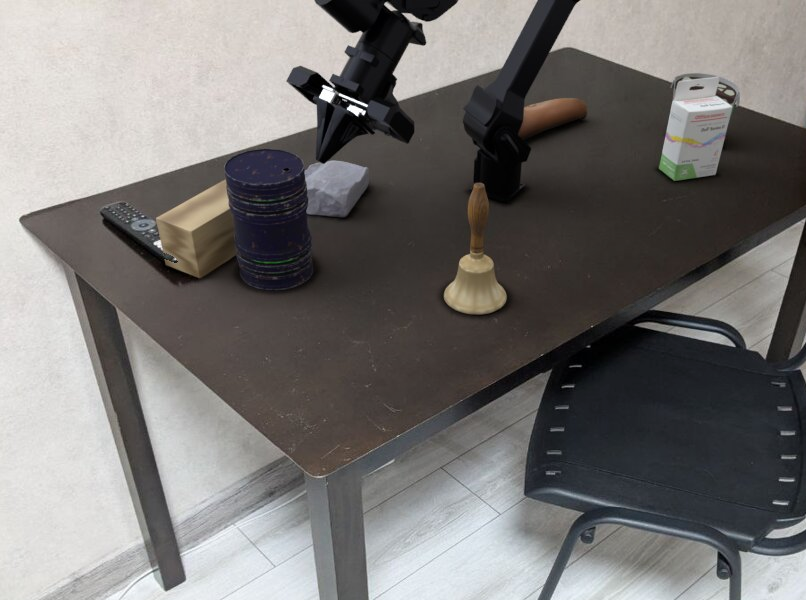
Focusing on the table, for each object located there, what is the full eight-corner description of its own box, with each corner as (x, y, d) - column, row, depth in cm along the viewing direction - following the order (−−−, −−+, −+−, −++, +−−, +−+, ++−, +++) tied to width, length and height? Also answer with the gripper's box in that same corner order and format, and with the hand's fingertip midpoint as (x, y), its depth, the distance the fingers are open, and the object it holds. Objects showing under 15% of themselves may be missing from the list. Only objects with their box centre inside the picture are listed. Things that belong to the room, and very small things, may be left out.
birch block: (269, 234, 129) (263, 188, 124) (200, 278, 120) (191, 231, 115) (236, 222, 131) (229, 176, 126) (165, 265, 122) (155, 217, 117)
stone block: (288, 221, 135) (350, 219, 133) (279, 190, 132) (343, 188, 130) (316, 188, 144) (375, 185, 142) (308, 159, 141) (369, 155, 139)
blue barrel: (226, 283, 119) (208, 177, 109) (256, 246, 126) (243, 143, 116) (298, 296, 118) (287, 190, 108) (325, 257, 125) (317, 155, 115)
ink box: (673, 182, 148) (692, 92, 138) (657, 169, 152) (674, 80, 142) (717, 175, 151) (738, 86, 141) (701, 162, 154) (720, 74, 145)
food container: (739, 140, 162) (753, 84, 155) (726, 152, 158) (740, 95, 151) (676, 121, 167) (686, 66, 160) (661, 132, 163) (672, 76, 156)
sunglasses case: (552, 103, 168) (569, 78, 163) (574, 133, 167) (592, 108, 162) (482, 128, 158) (497, 102, 153) (505, 160, 158) (521, 135, 152)
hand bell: (433, 305, 118) (435, 192, 107) (458, 274, 124) (462, 164, 113) (493, 321, 116) (500, 208, 106) (515, 289, 122) (524, 178, 111)
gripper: (458, 107, 122) (402, 210, 122) (358, 68, 130) (306, 165, 130) (418, 62, 112) (357, 175, 112) (313, 23, 120) (257, 128, 120)
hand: (319, 161), depth 119 cm, fingers closed
